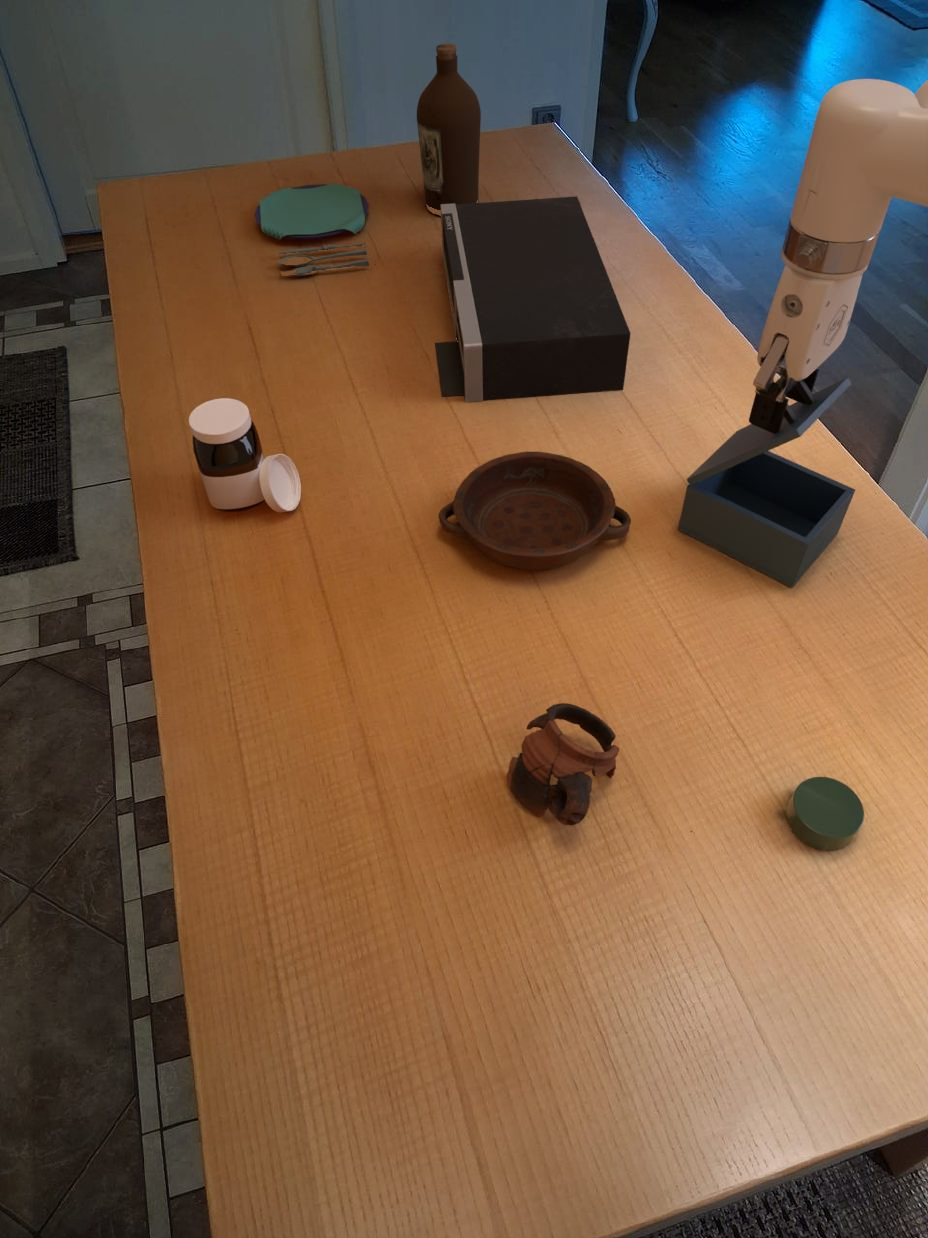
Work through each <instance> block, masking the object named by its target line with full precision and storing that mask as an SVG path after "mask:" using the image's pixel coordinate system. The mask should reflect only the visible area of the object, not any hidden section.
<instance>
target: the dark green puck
mask: <svg viewBox="0 0 928 1238" xmlns="http://www.w3.org/2000/svg"><path fill="white" fill-rule="evenodd" d="M785 815H786V820H787V824H788V826H789V828H790V830H791V831H792V833H793V834H794V835H795V836H796V838H798V839H799V840H800V841H801V842H802V843H804V844H805V845H807V846H809V847H812V848H814V849H817V850H821V851H826V852H827V851H828V852H829V851H838V850H841V849H843V848H846V847H847V846H849V844H851V842H852V841H853V840H854V838H855V837H856V836H857V833H858V832H859V830H860V829H861V828H862V826H863V823H864V820H865V809H864V806H863V803H862V801H861V799H860V797H859V796H858V794H857V793H856V792H855V791H854V790H853V789H852V788H851V787H849V786H848V785H847V784H845V783H844V782H842V781H840V780H838V779H835V778H832V777H827V776H813V777H810V778H807V779H804V780H803V781H802V782H800V783H799V784H798V785H797V786H796V788H795V789H794V791H793V794H792V795H791V797H790V799H789V801H788V803H787V806H786V814H785Z"/></svg>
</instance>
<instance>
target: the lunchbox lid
mask: <svg viewBox="0 0 928 1238" xmlns="http://www.w3.org/2000/svg"><path fill="white" fill-rule="evenodd" d="M784 378H785V376H782V375H780V377H779V378H778V379H777V380H776V381H774V382H775V383H778V385H779V386H780V387H781V385H782V382H783V380H784ZM852 383H853V382H852V381H851V380H850V378H849V377H845V378H843V379H841V380H839V381H837V382H834V383H833V384H831V385H829V386H827V387H824V388H823V389H821V390H818V391H816V392H814V393H813V392H812V393H811V391H810V390H809V388H808V387H807V385H806V383H805V382H804V380H800V381H795V380H794V379H793V381H792V383H791V386H790V388H789V390H788V392H789V391H790V390H791V389H792V388H793V387H794V386H796V388H797V389H798V391H799V392H800V394H801V396H802V397H803V399H804V400H805V402H806V404H802V403H800V402H797V401H795V402H794V403H792V404H790V405H789V403H788V404H787V407H786V410H785V414H784V417H783V420H782V424H781V427H780V430H779V431H778V432H777V433H775V434H774V433H771V432H769V431H766V430H764V429H762V428H760V427H757V426H755V425H753V424H751V423H749V424H748V425H746V426H745V427H741V428H740V429H738V430H736V431H735V432H734V433H733V434H732V435H730V437H729V438H728V439H727V440H726V441H724V443H723V444H722V445H721V446H719V448H717V449H716V450H715V451H714V452H713V453H712V454H711V455H709V457H708V458H707V459H706V460H705V461H704V462H703V463H702V464H701V465H699V466H698V467H697V468H696V469H695V470H694V471H693V472H692V473H691V474H690V475H689V476H688V477H686V483H688V485H692V484H694V483H696V482H699V481H701V480H703V479H705V478H708V477H710V476H712V475H714V474H717V473H719V472H721V471H723V470H726V469H728V468H730V467H733V466H735V465H737V464H739V463H742V462H744V461H746V460H748V459H751V458H753V457H755V456H757V455H760V454H762V453H764V452H767V451H771V450H774V449H775V448H778V447H780V446H782V445H784V444H787V443H789V442H792V441H794V440H796V439H799V438H800V437H802V436H803V435H804V433H806V432H807V431H808V430H809V428H810V427H811V426H812V425H814V423H815V422H817V420H818V419H819V418H820V417H821V416H822V415H823V414H824V413H825V412H827V410H828V409H829V408H830V407H831V406H832V405H833V404H834V403H835V402H836V401H837V399H838V398H840V396H842V394H843V393H844V392H845V391H846V390H847V389H848V388H849V387H850V386H852Z"/></svg>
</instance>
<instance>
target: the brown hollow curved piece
mask: <svg viewBox="0 0 928 1238" xmlns="http://www.w3.org/2000/svg"><path fill="white" fill-rule="evenodd" d="M545 711H546V713H543V714H540V715H538V716H536V717H535V718H534V719H532V720H530V721H529V722H528V724H527V726H526V730H528V731H530V730H532V729H534V728H538V730H536V731H534V732H531V733H529V734H527V735H526V736H524V739H523V741H522V743H521V752H520V753H519V755H518V756H512V757H511V758H510V761H509V766H508V770H507V774H506V781H507V785H508V788H509V790H510V792H511V793H512V796H513V797H514V799H515V800H516V801H517V802H518V804H520V805H521V806H522V807H523V808H524V809H525V810H527V811H528V812H530V813H531V814H534V815H536V816H537V817H540V818H542V817H543V815H544V814H545V812H546V811H547V809H548V811H549V813H551V814H552V815H553V816H554V817H555V819H556V820H557V822H559V823H560V824H561V825H562V826H570V827H571V826H572V827H573V826H576V825H577V824H580V823H581V822H582V821H583V820H584V818H585V817H586V816H587V813H588V811H589V809H590V803H591V802H590V799H591V795H590V794H591V793H592V791H593V786H592V785H593V780H592V777H591V776H590V775H589V774H587V772H590V771H591V774H592V776H593V777H595V778H597V777H599V776H602V775H606V776H607V778H608V779H612V778H613V777H614V775H615V771H616V769H617V760H616V757H618V756H619V752H620V747H619V746H617V745H616V744H613V742H614V741H615V739H616V737H617V736H616V734H615V732H614V730H613V729H612V728H611V727H610V726H609V725H608V724H607V722H605V721H604V720H603V719H602V718H601V717H600V716H599V717H598V716H597V714H594V713H592V712H591V711H589V710H587V709H585V708H583V707H581V706H578V705H576V704H572V703H567V702H566V703H565V702H559V703H555V704H553V705H551V706H550V707H548V708H546V709H545ZM556 720H563V721H566V722H568V723H571V724H573V725H577V726H579V728H580V729H581V730H583V731H584V732H586V733H587V734H589V735H590V736H592V737H593V738H594V739H595V740H596V741H597V742H598V744H599V745H600V747H601V749H602V751H592V750H590V749H588V748H586V747H583V746H582V745H579V744H578V743H576V742H575V741H573V740H572V739H570V738H569V737H568V736H567V735H566V734H564V733H563V731H562V730H561V729H560V727H559V726H558V723H557V721H556ZM552 776H553V777H554V778H555V779H557V780H556V784H551V777H552Z"/></svg>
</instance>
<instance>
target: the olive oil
mask: <svg viewBox="0 0 928 1238" xmlns="http://www.w3.org/2000/svg"><path fill="white" fill-rule="evenodd" d="M435 48H436V49H435V51H436V55H435V63H436V65H435V66H436V73H435V75H434V77H433V78H432V79H431V80H430V82H428V84H427V86H426V87H425V88H424V89H423V91H422V93H420V96H419V99H418V102H417V106H416V124H417V125H416V126H417V134H418V142H419V151H420V153H419V154H420V160H421V161H420V162H421V171H422V183H423V192H424V203H425V202H426V204H427V205H428V206H429V207H432V208H434V209H437V210H441V204H455V205H457V204H472V203H476V202H477V200H478V201H479V187H480V186H479V182H480V181H479V179H480V178H479V177H480V149H481V148H480V146H481V145H480V144H481V125H482V124H481V123H482V122H481V121H482V110H481V106H480V101H479V99H478V96H477V94H476V91H475V90H474V89H473V88H472V87H471V86H470V85H469V84H468V82H467V81H466V80H465V79H464V78H463V77H462V76H461V74H459V71H458V54H457V46H456V44H454V43H449V42H448V43H446V42H445V43H440V44H438V45H437V46H436V47H435ZM426 204H425V205H426Z"/></svg>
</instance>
